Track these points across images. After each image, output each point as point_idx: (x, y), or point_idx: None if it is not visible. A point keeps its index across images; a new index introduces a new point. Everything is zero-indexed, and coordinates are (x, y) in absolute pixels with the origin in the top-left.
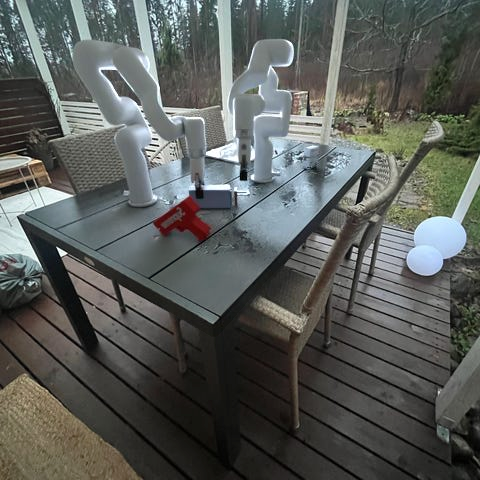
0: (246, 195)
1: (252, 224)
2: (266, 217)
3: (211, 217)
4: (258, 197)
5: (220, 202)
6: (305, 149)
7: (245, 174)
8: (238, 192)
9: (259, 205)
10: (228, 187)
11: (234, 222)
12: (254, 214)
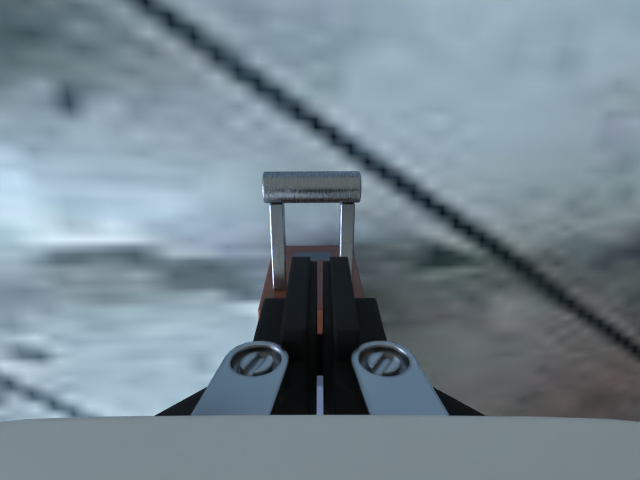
0: (353, 205)
1: (601, 142)
2: (520, 21)
3: (455, 381)
4: (128, 60)
5: None
6: None
7: (383, 335)
8: (286, 277)
9: (296, 64)
10: (321, 395)
11: (545, 257)
12: (454, 118)
